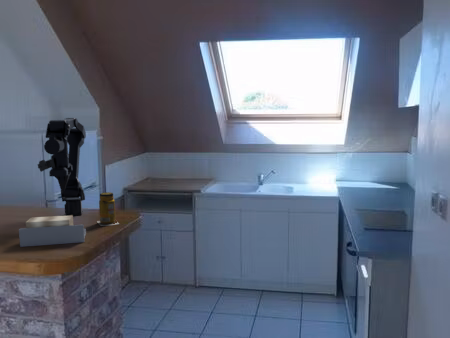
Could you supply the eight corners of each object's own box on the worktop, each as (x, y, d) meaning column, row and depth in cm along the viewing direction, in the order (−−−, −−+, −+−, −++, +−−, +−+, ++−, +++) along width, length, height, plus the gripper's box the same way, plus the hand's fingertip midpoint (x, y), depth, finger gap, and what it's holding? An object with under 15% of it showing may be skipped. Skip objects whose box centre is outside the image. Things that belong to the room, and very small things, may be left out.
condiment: (114, 219, 182) (113, 191, 181) (119, 224, 175) (118, 194, 173) (96, 222, 179) (95, 192, 177) (100, 226, 171) (99, 196, 170)
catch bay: (27, 237, 158) (26, 221, 157) (87, 233, 162) (86, 217, 161) (20, 246, 147) (18, 229, 146) (84, 242, 151) (83, 224, 151)
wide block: (74, 237, 158) (72, 215, 157) (70, 242, 151) (69, 220, 150) (32, 239, 156) (31, 217, 155) (27, 245, 149) (25, 222, 148)
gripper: (43, 150, 182) (45, 188, 184) (33, 155, 164) (36, 196, 166) (71, 149, 184) (73, 186, 186) (65, 153, 166) (67, 194, 168)
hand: (62, 191), depth 176 cm, fingers closed
